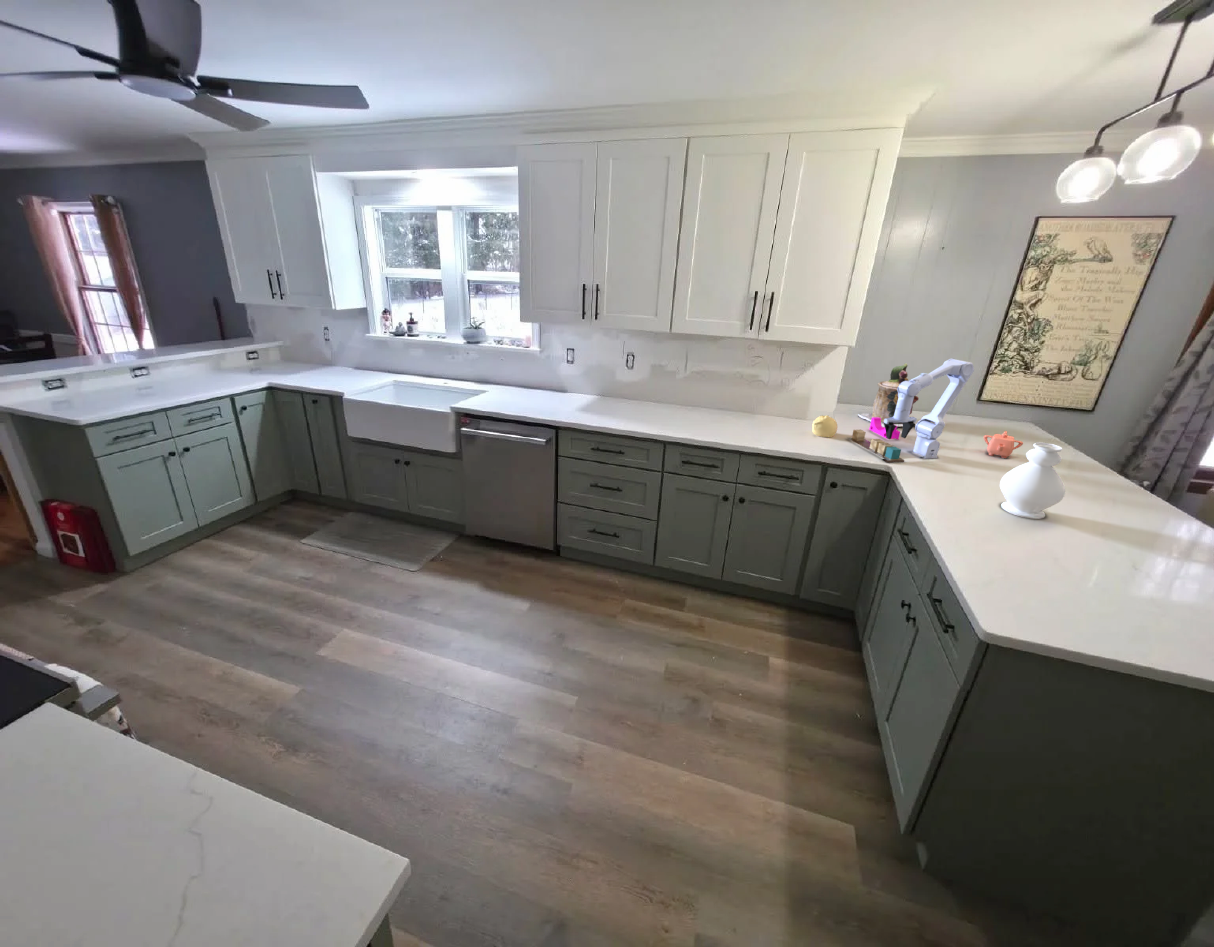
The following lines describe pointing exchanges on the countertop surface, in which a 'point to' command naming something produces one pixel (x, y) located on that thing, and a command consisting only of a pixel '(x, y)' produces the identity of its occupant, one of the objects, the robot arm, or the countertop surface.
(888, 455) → the teal cube
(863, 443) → the board
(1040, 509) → the decorative vase
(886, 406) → the cookie jar
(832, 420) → the pale yellow lumpy ball
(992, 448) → the teapot
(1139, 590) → the countertop surface
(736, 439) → the countertop surface
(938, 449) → the robot arm
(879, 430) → the toy block
